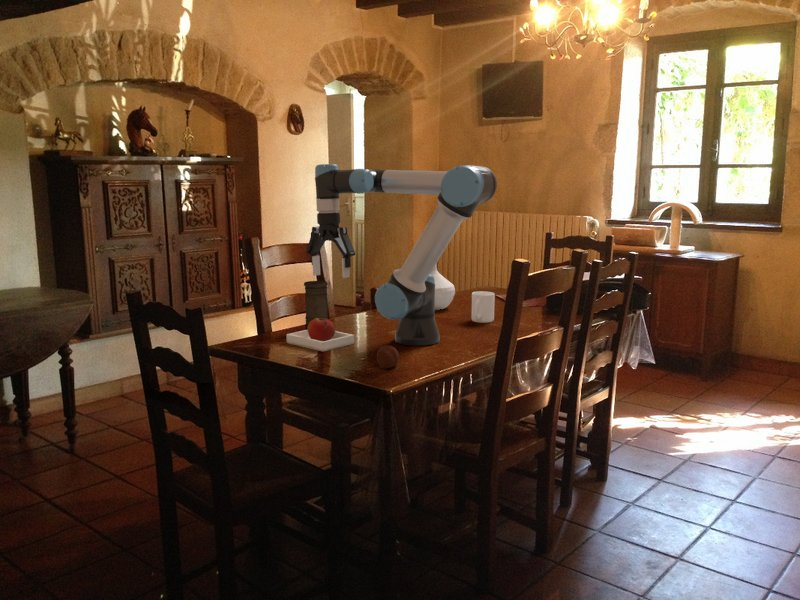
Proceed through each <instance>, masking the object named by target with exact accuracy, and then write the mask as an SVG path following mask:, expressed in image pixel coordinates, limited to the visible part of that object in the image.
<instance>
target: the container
mask: <svg viewBox="0 0 800 600" xmlns="http://www.w3.org/2000/svg"><path fill="white" fill-rule="evenodd" d="M328 285H329V283H328V281H325V280H324V281H323V280H310V281H305V282H304V283H303V286H304V290H305V293H304V297H305V298H304V299H305V318H304V319H305V324H304V327H305V328H304V330H307V329H308V324H309V323H310V321H312V320H314V319H315V318H325V319H328V320H329V316H328V292H327V291H328V287H327V286H328Z"/></svg>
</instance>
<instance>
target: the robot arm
mask: <svg viewBox="0 0 800 600" xmlns="http://www.w3.org/2000/svg"><path fill="white" fill-rule="evenodd" d="M314 174H315V175H314V181H315V194H316V196H315V198H316V201H315V202H316V203H315V204H316V211H317V214H316V218H317V219H316V222H317V224H318V225H319V226H318V225H317V226H312V227H311V234H310V238H309V242H308V244H307V247H306V251H305V253H306V254H307V255H309V256H310V257H311V258H310V259H311V260H310V261H311V265H312V276H314V277H315V276H321V261H320V260H321V257H320V254H319V253H320V251H321V249H322V248H323V246H324V244H325V242H328V241H330V242H332V243H334V244H335V246H336V247H337V249H338V251H339V252H340V253H341V255H342V258H341V271H342V273H341V274H342V279H347V278H350V277H351V270H350V268H351V265H352V264H351V263H352V262H351V261H352V260H351V258H352V257H353V256H356V251H355V249H354V246H353V243H352V242H351V239H350V236H349V234H348V227H347V226H342V227H341V226H340V224H341V213H340V212H339V211H341V209H340V194H366V193H380V194H385V193H386V194H388V193H389V194H405V195H407V194H409V195H426V196H427V195H428V196H429V195H431V196H437V197H436V199H437V203H438V205H437V207H436V209H435V210H434V213H432V215H431V217H430V219H429V220H428V223H427V224H426V226H425V227H424V230H423V231H422V232H421V234H420V236H419V237H418V239H417V241H416V242H415V244H414V246H413V248H412V250H411V251H410V252H409V254H408V256H407V258H406V259H405V261H404V263H403V264H402V266H401V268H397V269H394V270H393V272H392V273H391V275H390V277H389V279H388V280H387V282H386V283H383V284H381V285H380V286H379V287H378V288H377V289H376V292H375V294H374V303H375V307H376V309H377V311H378V313H380V315H381V316H382V317H384V318H386V319H388V320H392V321H395V320H399V321H398V324H397V327H396V331H395V333H394V341H395V343H397V344H401V345H404V346H412V347H413V346H414V347H415V346H418V347H420V346H430V345H435V344H437V343H440V341H441V339H440V337H441V336H440V332H439V329H438V326H437V321H436V319H435V312H436V310H435V279H434V276H433V275H430V273H431V271H432V270H433V268H434V266H435V265H436V263H438V262H439V259H440V258H441V256H442V255H443V253H445V250H446V249H447V247H448V245H449V244H450V242H451V241H452V239H453V237H454V235H455V234H456V232H457V231H458V229H460V228H459V227H460V226H461V224H462V222H463V221H464V220H469V219H471V217H472V216H473V215H474V213H475V211H476V210H477V208H478V207H479V205H483V204H485V203H488V202H489V201H490V200H491V199H492V198H493V197H494V196H495V194H496V192H497V189H498V180H497V177H496V174H495V173H494V172H493V171H492V170H491V169H490V168H488V167H486V166H483V165H471V164H461V165H457V166H454V167H452V168H450V169H449V170H448V171H445V170H444V171H443V170H442V171H440V170H407V169H406V170H403V169H402V170H401V169H400V170H399V169H398V170H397V169H380V168H377V169H376V168H373V169H367V168H355V169H351V168H350V169H339V166H338V164H335V163H326V164H325V163H324V164H323V163H322V164H317V165H316V166H315V168H314Z"/></svg>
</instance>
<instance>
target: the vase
mask: <svg viewBox="0 0 800 600" xmlns="http://www.w3.org/2000/svg"><path fill="white" fill-rule="evenodd" d="M437 263H438V262H437ZM437 263H436V265H435V266H434V268H433V270H432V271H431V273H430V275H433V276H434V279H435V311H440V309H441V310H444V309H446V308H447V307H448V306H450V304H451V303H452V302H453V300H454V297H455V295H456V289H455V285H454V284H453V283H452V282H450V281H449V280H448V278H446V277H444V276H443V275H442V274H441V273H440V272H439V271H438V268H437V265H438V264H437Z"/></svg>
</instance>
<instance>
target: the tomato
mask: <svg viewBox="0 0 800 600" xmlns="http://www.w3.org/2000/svg"><path fill="white" fill-rule="evenodd" d="M307 330H308V333H309V336H310V338H311V339H314V340H318V341H327V340H330V339H331V338H332V337H333V336H334V334H335V331H336V327H335V325H334V322H333V321H331V320H330V319H329V318H328V319H325V318H315V319H314V320H312V321H310V323H309V324H308V329H307Z"/></svg>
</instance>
